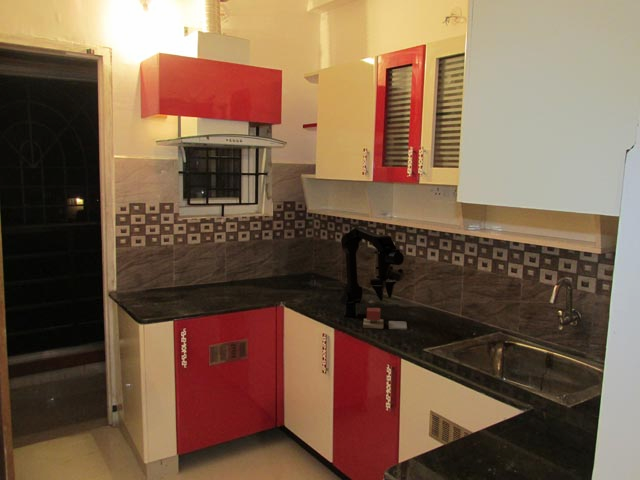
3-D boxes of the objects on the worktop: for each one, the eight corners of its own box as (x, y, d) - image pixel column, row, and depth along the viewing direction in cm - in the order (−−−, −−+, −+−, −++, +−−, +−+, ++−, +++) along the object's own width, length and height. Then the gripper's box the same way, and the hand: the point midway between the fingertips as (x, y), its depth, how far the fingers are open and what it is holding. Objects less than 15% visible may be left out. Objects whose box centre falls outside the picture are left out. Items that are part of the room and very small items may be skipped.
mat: (388, 322, 252) (388, 320, 252) (406, 323, 251) (406, 321, 251) (388, 328, 243) (388, 327, 242) (406, 329, 242) (406, 327, 241)
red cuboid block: (367, 316, 251) (367, 307, 251) (380, 316, 250) (380, 308, 250) (366, 319, 245) (366, 311, 245) (380, 320, 245) (380, 311, 244)
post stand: (364, 321, 254) (364, 308, 253) (383, 322, 253) (383, 308, 252) (363, 327, 244) (363, 313, 243) (383, 328, 243) (383, 314, 242)
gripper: (392, 266, 227) (394, 303, 228) (409, 261, 243) (410, 296, 244) (368, 266, 233) (370, 302, 234) (386, 261, 249) (388, 295, 250)
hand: (385, 299), depth 240 cm, fingers open, 9 cm apart
